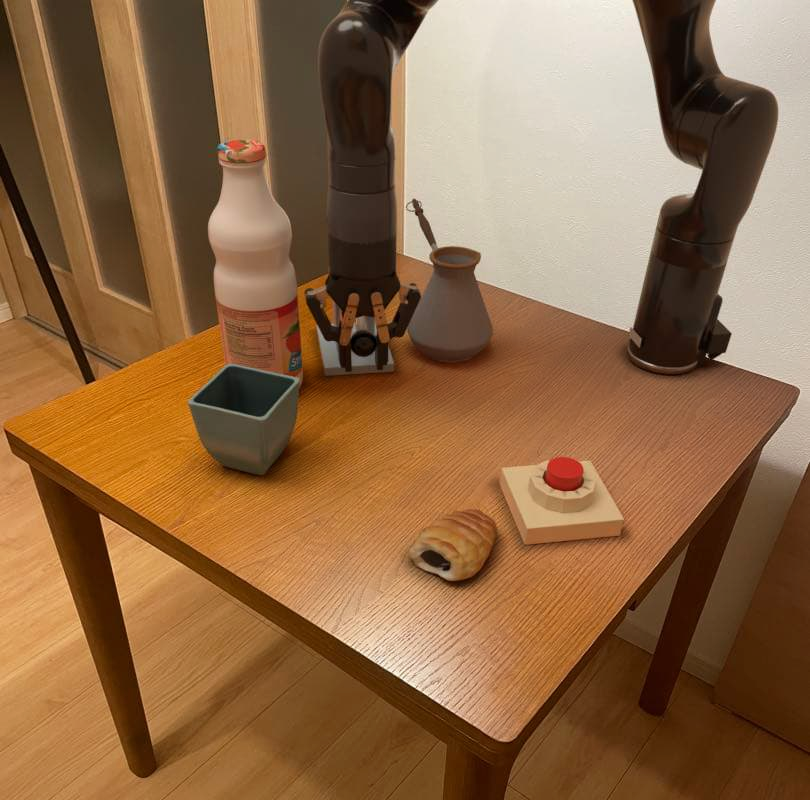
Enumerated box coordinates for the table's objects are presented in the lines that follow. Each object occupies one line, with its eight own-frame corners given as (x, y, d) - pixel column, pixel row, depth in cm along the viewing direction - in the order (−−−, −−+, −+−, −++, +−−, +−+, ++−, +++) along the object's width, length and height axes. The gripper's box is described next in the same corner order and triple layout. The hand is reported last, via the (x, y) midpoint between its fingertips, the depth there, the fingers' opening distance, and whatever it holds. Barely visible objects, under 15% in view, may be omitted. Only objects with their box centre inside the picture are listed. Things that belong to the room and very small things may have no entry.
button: (574, 469, 82) (576, 455, 81) (585, 490, 80) (588, 476, 79) (540, 472, 82) (542, 458, 81) (551, 493, 79) (553, 479, 78)
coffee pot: (505, 362, 106) (518, 251, 96) (424, 375, 103) (429, 262, 93) (445, 295, 121) (451, 193, 111) (373, 305, 118) (373, 200, 108)
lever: (377, 361, 97) (378, 345, 94) (351, 363, 96) (351, 346, 93) (363, 272, 102) (364, 253, 99) (338, 273, 102) (338, 254, 99)
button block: (586, 476, 88) (593, 446, 85) (620, 535, 80) (628, 505, 78) (498, 483, 86) (502, 453, 84) (524, 545, 79) (529, 514, 76)
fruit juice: (219, 373, 102) (184, 137, 84) (289, 359, 105) (271, 128, 87) (240, 410, 96) (207, 163, 77) (314, 394, 99) (299, 153, 80)
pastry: (455, 513, 82) (458, 484, 80) (512, 539, 80) (517, 510, 77) (403, 563, 77) (404, 534, 74) (463, 594, 74) (466, 564, 71)
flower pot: (306, 446, 91) (301, 376, 85) (271, 491, 84) (264, 419, 78) (237, 430, 93) (227, 361, 87) (198, 473, 86) (185, 402, 80)
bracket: (394, 371, 104) (395, 276, 95) (324, 376, 102) (320, 280, 94) (380, 328, 112) (381, 238, 104) (316, 332, 111) (311, 241, 103)
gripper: (299, 242, 83) (308, 387, 94) (432, 237, 85) (425, 379, 96) (294, 216, 88) (303, 356, 100) (419, 211, 90) (414, 349, 102)
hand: (363, 367), depth 98 cm, fingers closed on lever, 3 cm apart
